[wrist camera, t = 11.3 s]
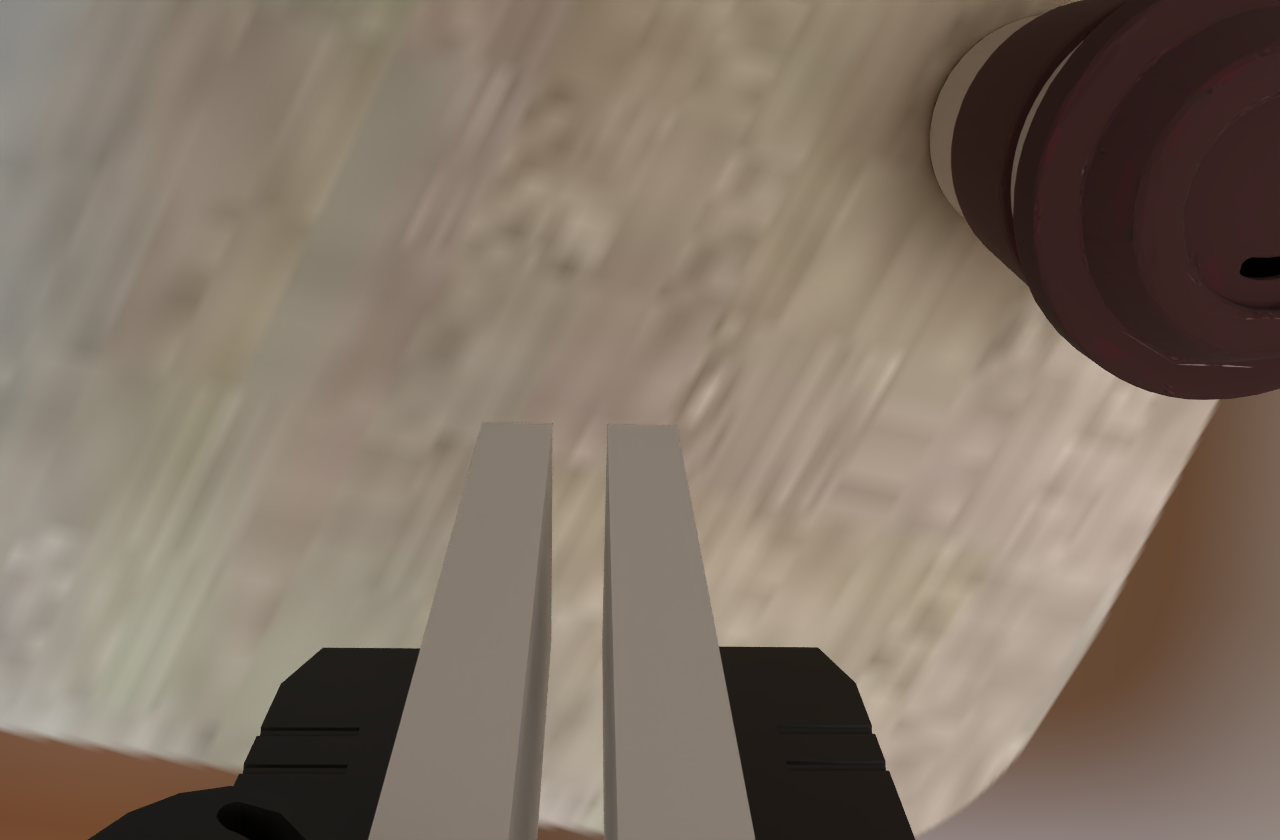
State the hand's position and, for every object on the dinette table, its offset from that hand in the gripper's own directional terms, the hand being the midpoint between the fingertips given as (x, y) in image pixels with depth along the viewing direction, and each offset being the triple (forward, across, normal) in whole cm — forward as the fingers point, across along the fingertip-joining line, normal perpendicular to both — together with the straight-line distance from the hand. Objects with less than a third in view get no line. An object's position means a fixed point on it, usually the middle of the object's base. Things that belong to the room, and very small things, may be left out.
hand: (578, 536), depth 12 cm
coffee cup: (+27, +15, +2) cm, 31 cm away
